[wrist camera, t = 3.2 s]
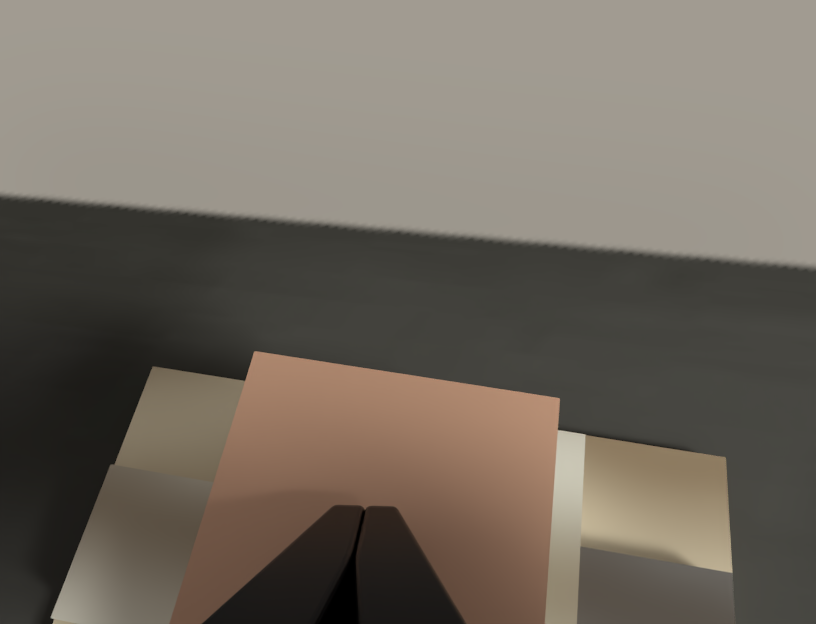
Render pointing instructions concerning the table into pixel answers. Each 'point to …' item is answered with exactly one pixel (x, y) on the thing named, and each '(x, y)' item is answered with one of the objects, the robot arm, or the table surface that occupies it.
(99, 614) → the card holder
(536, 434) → the block
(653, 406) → the table surface
